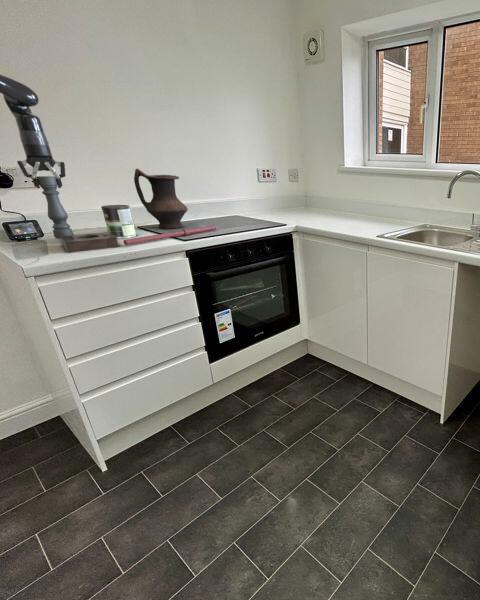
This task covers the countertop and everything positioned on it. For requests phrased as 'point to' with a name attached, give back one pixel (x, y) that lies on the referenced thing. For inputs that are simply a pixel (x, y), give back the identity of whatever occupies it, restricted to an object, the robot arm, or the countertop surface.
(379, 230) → the countertop surface
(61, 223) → the candle holder
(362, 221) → the countertop surface
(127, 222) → the coffee can
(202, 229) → the red rod
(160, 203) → the jug
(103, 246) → the stand
